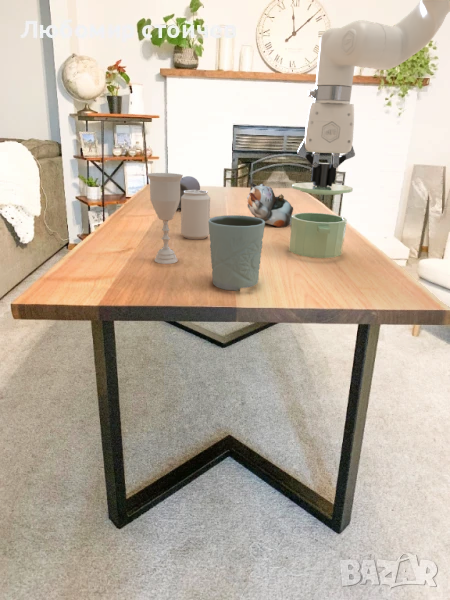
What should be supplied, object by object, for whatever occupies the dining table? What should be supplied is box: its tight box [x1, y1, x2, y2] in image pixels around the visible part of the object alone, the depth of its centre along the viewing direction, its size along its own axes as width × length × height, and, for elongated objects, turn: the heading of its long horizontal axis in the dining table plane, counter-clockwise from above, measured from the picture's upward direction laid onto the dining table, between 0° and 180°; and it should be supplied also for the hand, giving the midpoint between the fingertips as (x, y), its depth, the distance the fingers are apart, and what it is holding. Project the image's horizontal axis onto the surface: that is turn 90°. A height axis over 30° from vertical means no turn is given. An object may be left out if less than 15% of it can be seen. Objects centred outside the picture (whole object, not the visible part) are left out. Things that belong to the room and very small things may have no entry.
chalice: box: [146, 172, 184, 265], centre depth 93 cm, size 7×7×18 cm
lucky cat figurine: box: [246, 182, 294, 228], centre depth 135 cm, size 15×12×14 cm
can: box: [180, 189, 211, 240], centre depth 115 cm, size 8×8×12 cm
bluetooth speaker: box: [177, 176, 201, 209], centre depth 160 cm, size 23×9×10 cm, turn 174°
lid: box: [291, 162, 354, 196], centre depth 100 cm, size 14×14×6 cm
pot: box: [287, 212, 348, 259], centre depth 105 cm, size 13×18×8 cm
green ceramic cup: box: [208, 214, 266, 292], centre depth 81 cm, size 10×10×12 cm
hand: (322, 184), depth 101 cm, fingers closed on lid, 2 cm apart
